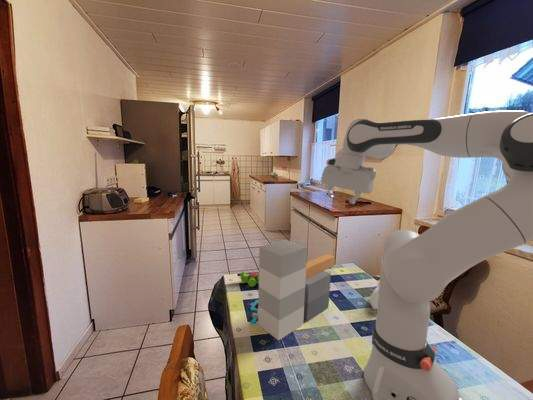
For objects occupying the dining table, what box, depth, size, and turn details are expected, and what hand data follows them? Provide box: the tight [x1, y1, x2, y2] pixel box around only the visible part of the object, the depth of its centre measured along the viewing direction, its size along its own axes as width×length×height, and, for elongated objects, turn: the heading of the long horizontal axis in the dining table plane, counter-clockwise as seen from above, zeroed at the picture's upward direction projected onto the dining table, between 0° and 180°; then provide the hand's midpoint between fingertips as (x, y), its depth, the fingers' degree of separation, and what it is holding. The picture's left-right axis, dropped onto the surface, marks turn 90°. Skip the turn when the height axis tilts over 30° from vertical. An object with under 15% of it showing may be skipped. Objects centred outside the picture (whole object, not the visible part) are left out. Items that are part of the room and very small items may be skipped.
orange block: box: [306, 253, 336, 279], centre depth 95 cm, size 4×20×4 cm, turn 132°
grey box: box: [303, 270, 332, 323], centre depth 94 cm, size 10×13×14 cm
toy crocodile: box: [240, 270, 259, 288], centre depth 112 cm, size 20×7×6 cm, turn 80°
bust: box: [368, 281, 380, 310], centre depth 97 cm, size 12×8×11 cm
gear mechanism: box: [250, 299, 259, 325], centre depth 94 cm, size 20×5×9 cm
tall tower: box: [257, 239, 308, 341], centre depth 83 cm, size 10×12×28 cm
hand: (340, 200), depth 94 cm, fingers open, 8 cm apart
